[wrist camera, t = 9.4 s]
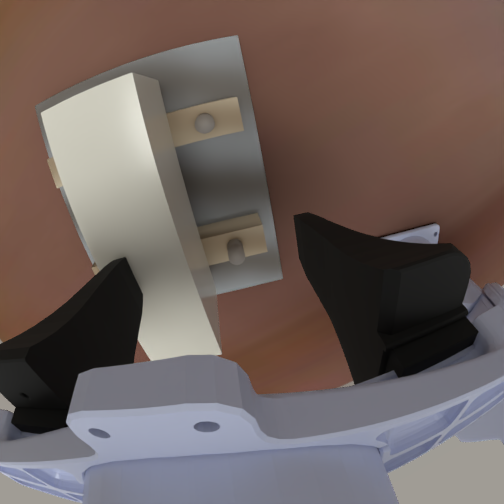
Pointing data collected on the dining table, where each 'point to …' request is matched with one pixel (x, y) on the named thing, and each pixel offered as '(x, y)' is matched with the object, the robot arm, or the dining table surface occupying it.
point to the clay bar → (137, 208)
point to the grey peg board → (208, 156)
